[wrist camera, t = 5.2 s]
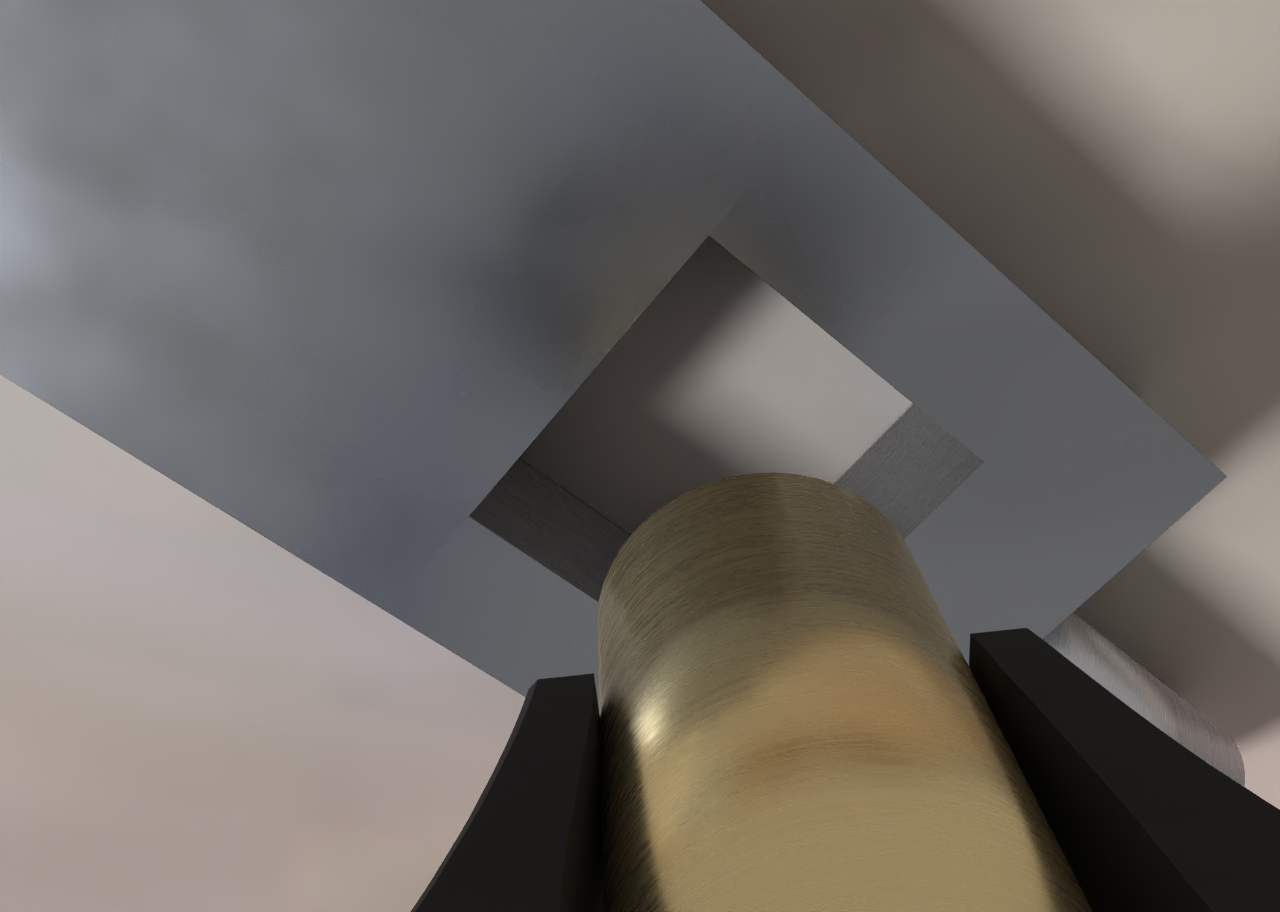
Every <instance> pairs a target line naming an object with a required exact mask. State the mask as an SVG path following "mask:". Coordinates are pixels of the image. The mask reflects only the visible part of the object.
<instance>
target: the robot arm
mask: <svg viewBox="0 0 1280 912" xmlns="http://www.w3.org/2000/svg"><path fill="white" fill-rule="evenodd" d="M969 668H970V670H971V672H972V674H973V676H974V677H975V679H976V681H977V683H978V685H979V687H980V689H981V691H982V693H983V695H984V697H985V699H986V701H987V703H988V705H989V707H990V709H991V711H992V713H993V715H994V717H995V719H996V721H997V723H998V725H999V727H1000V729H1001V731H1002V733H1003V735H1004V737H1005V739H1006V741H1007V742H1008V744H1009V746H1010V748H1011V750H1012V752H1013V754H1014V756H1015V758H1016V760H1017V762H1018V764H1019V766H1020V768H1021V770H1022V772H1023V774H1024V776H1025V778H1026V780H1027V782H1028V784H1029V786H1030V788H1031V790H1032V792H1033V794H1034V796H1035V798H1036V800H1037V802H1038V804H1039V805H1040V807H1041V809H1042V811H1043V813H1044V815H1045V817H1046V819H1047V821H1048V823H1049V825H1050V827H1051V829H1052V831H1053V833H1054V835H1055V837H1056V839H1057V841H1058V843H1059V845H1060V847H1061V849H1062V851H1063V853H1064V855H1065V857H1066V859H1067V861H1068V863H1069V865H1070V867H1071V869H1072V870H1073V872H1074V874H1075V876H1076V878H1077V880H1078V882H1079V884H1080V886H1081V888H1082V890H1083V892H1084V894H1085V896H1086V898H1087V900H1088V902H1089V904H1090V906H1091V908H1092V910H1093V912H1280V810H1279V809H1278V808H1276V807H1274V806H1273V805H1271V804H1270V803H1268V802H1266V801H1265V800H1263V799H1262V798H1260V797H1259V796H1257V795H1256V794H1254V793H1253V792H1251V791H1249V790H1248V789H1246V788H1245V787H1243V786H1242V785H1240V784H1239V783H1237V782H1236V781H1234V780H1233V779H1231V778H1229V777H1228V776H1226V775H1225V774H1223V773H1222V772H1220V771H1219V770H1217V769H1216V768H1214V767H1213V766H1211V765H1210V764H1208V763H1207V762H1205V761H1204V760H1203V759H1201V758H1200V757H1198V756H1197V755H1195V754H1194V753H1192V752H1191V751H1190V750H1188V749H1187V748H1185V747H1184V746H1182V745H1181V744H1180V743H1178V742H1177V741H1175V740H1174V739H1173V738H1171V737H1170V736H1168V735H1167V734H1166V733H1164V732H1163V731H1161V730H1160V729H1159V728H1157V727H1156V726H1155V725H1153V724H1152V723H1151V722H1149V721H1148V720H1146V719H1145V718H1144V717H1142V716H1141V715H1140V714H1138V713H1137V712H1136V711H1134V710H1133V709H1132V708H1130V707H1129V706H1128V705H1126V704H1125V703H1124V702H1122V701H1121V700H1120V699H1118V698H1117V697H1116V696H1115V695H1113V694H1112V693H1111V692H1109V691H1108V690H1107V689H1105V688H1104V687H1103V686H1102V685H1100V684H1099V683H1098V682H1096V681H1095V680H1094V679H1093V678H1091V677H1090V676H1089V675H1087V674H1086V673H1085V672H1084V671H1082V670H1081V669H1080V668H1078V667H1077V666H1076V665H1075V664H1073V663H1072V662H1071V661H1070V660H1068V659H1067V658H1066V657H1064V656H1063V655H1062V654H1061V653H1059V652H1058V651H1057V650H1056V649H1054V648H1053V647H1052V646H1050V645H1049V644H1048V643H1047V642H1045V641H1044V640H1043V639H1041V638H1040V637H1039V636H1037V635H1036V634H1035V633H1033V632H1032V631H1031V630H1029V629H1028V628H1019V629H1010V630H1000V631H991V632H981V633H972V634H970V650H969ZM411 912H603V867H602V818H601V742H600V714H599V707H598V699H597V692H596V685H595V678H594V673H593V674H583V675H574V676H564V677H555V678H545V679H538V680H537V681H536V682H535V683H534V684H533V685H532V686H531V687H530V688H529V689H528V692H527V695H526V698H525V701H524V704H523V707H522V709H521V712H520V714H519V717H518V719H517V722H516V724H515V727H514V729H513V731H512V733H511V736H510V738H509V740H508V742H507V745H506V747H505V749H504V751H503V753H502V755H501V757H500V759H499V762H498V764H497V766H496V768H495V770H494V772H493V774H492V776H491V777H490V779H489V781H488V783H487V785H486V787H485V789H484V791H483V793H482V795H481V796H480V798H479V800H478V802H477V804H476V806H475V808H474V810H473V812H472V814H471V815H470V817H469V819H468V821H467V823H466V824H465V826H464V828H463V830H462V831H461V833H460V835H459V836H458V838H457V839H456V841H455V843H454V844H453V846H452V848H451V849H450V851H449V853H448V854H447V856H446V858H445V859H444V861H443V862H442V864H441V866H440V867H439V869H438V871H437V872H436V874H435V876H434V877H433V879H432V880H431V882H430V884H429V885H428V887H427V888H426V890H425V891H424V893H423V894H422V896H421V897H420V899H419V900H418V902H417V903H416V905H415V906H414V908H413V909H412V911H411Z"/></svg>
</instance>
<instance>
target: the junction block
mask: <svg viewBox="0 0 1280 912" xmlns="http://www.w3.org/2000/svg"><path fill="white" fill-rule="evenodd" d="M708 236H710V237H712V238H713V239H714V240H715V241H716V242H718V243H719V244H720V245H721V246H722V247H724V248H725V249H726V250H727V251H729V252H730V253H731V254H732V255H733V256H735V257H736V258H737V259H738V260H739V261H741V262H742V263H743V264H744V265H746V266H747V267H748V268H749V269H750V270H752V271H753V272H754V273H755V274H757V275H758V276H759V277H760V278H761V279H763V280H764V281H765V282H766V283H767V284H769V285H770V286H771V287H772V288H774V289H775V290H776V291H777V292H778V293H780V294H781V295H782V296H783V297H784V298H786V299H787V300H788V301H789V302H791V303H792V304H793V305H794V306H795V307H797V308H798V309H799V310H800V311H802V312H803V313H804V314H805V315H806V316H808V317H809V318H810V319H811V320H812V321H814V322H815V323H816V324H817V325H819V326H820V327H821V328H822V329H823V330H825V331H826V332H827V333H828V334H830V335H831V336H832V337H833V338H834V339H836V340H837V341H838V342H839V343H840V344H842V345H843V346H844V347H845V348H847V349H848V350H849V351H850V352H851V353H853V354H854V355H855V356H856V357H857V358H859V359H860V360H861V361H862V362H864V363H865V364H866V365H867V366H868V367H870V368H871V369H872V370H873V371H875V372H876V373H877V374H878V375H879V376H881V377H882V378H883V379H884V380H885V381H887V382H888V383H889V384H890V385H892V386H893V387H894V388H895V389H896V390H898V391H899V392H900V393H901V394H902V395H904V396H905V397H906V398H907V399H909V400H910V401H911V402H912V403H913V405H912V406H911V407H910V408H909V409H908V410H907V411H906V412H905V413H904V414H903V415H902V416H901V417H900V418H899V419H898V420H897V421H896V422H895V423H894V424H893V425H892V426H891V427H890V428H889V429H888V430H887V431H886V432H885V433H884V435H883V436H882V437H881V438H880V439H879V440H878V441H877V442H876V443H875V444H874V445H873V446H872V447H871V448H870V449H869V450H868V451H867V452H866V453H865V454H864V455H863V456H862V457H861V458H860V459H859V460H858V461H857V462H856V463H855V464H854V465H853V466H852V467H851V468H850V469H849V470H848V471H847V472H846V473H845V474H844V475H843V476H842V477H841V478H840V479H839V480H838V481H837V482H836V483H835V485H838V486H840V487H842V488H844V489H846V490H848V491H850V492H853V493H855V494H857V495H858V496H860V497H861V498H863V499H864V500H866V501H867V502H869V503H870V504H872V505H873V506H874V507H875V508H876V509H878V510H879V511H880V512H881V513H882V514H883V515H884V516H885V517H887V518H888V520H889V521H890V522H891V523H892V524H893V526H894V527H895V528H896V529H897V530H898V532H899V533H900V534H901V536H902V538H903V539H904V541H905V543H906V544H907V546H908V548H909V549H910V551H911V553H912V555H913V557H914V559H915V561H916V563H917V565H918V567H919V569H920V571H921V573H922V575H923V577H924V579H925V581H926V583H927V585H928V587H929V589H930V591H931V593H932V595H933V597H934V599H935V601H936V603H937V605H938V607H939V609H940V611H941V612H942V614H943V616H944V618H945V620H946V622H947V624H948V626H949V628H950V630H951V632H952V634H953V636H954V638H955V640H956V642H957V644H958V646H959V648H960V650H961V652H962V654H963V656H964V658H965V660H966V662H967V664H968V666H969V650H970V634H972V633H981V632H991V631H1000V630H1010V629H1019V628H1028V629H1029V630H1031V631H1032V632H1033V633H1035V634H1036V635H1037V636H1039V637H1040V638H1041V639H1043V640H1044V641H1045V642H1047V643H1048V644H1049V645H1050V646H1052V647H1053V648H1054V649H1056V650H1057V651H1058V652H1059V653H1061V654H1062V655H1063V656H1064V657H1066V658H1067V659H1068V660H1070V661H1071V662H1072V663H1073V664H1075V665H1076V666H1077V667H1078V668H1080V669H1081V670H1082V671H1084V672H1085V673H1086V674H1087V675H1089V676H1090V677H1091V678H1093V679H1094V680H1095V681H1096V682H1098V683H1099V684H1100V685H1102V686H1103V687H1104V688H1105V689H1107V690H1108V691H1109V692H1111V693H1112V694H1113V695H1115V696H1116V697H1117V698H1118V699H1120V700H1121V701H1122V702H1124V703H1125V704H1126V705H1128V706H1129V707H1130V708H1132V709H1133V710H1134V711H1136V712H1137V713H1138V714H1140V715H1141V716H1142V717H1144V718H1145V719H1146V720H1148V721H1149V722H1151V723H1152V724H1153V725H1155V726H1156V727H1157V728H1159V729H1160V730H1161V731H1163V732H1164V733H1166V734H1167V735H1168V736H1170V737H1171V738H1173V739H1174V740H1175V741H1177V742H1178V743H1180V744H1181V745H1182V746H1184V747H1185V748H1187V749H1188V750H1190V751H1191V752H1192V753H1194V754H1195V755H1197V756H1198V757H1200V758H1201V759H1203V760H1204V761H1205V762H1207V763H1208V764H1210V765H1211V766H1213V767H1214V768H1216V769H1217V770H1219V771H1220V772H1222V773H1223V774H1225V775H1226V776H1228V777H1229V778H1231V779H1233V780H1234V781H1236V782H1237V783H1239V784H1240V785H1242V786H1243V787H1244V784H1245V771H1244V764H1243V760H1242V756H1241V754H1240V752H1239V749H1238V747H1237V746H1236V744H1235V743H1234V741H1233V740H1232V739H1231V738H1230V736H1229V735H1228V734H1227V733H1225V732H1224V731H1223V730H1222V729H1220V728H1219V727H1218V726H1217V725H1215V724H1214V723H1213V722H1212V721H1210V720H1209V719H1208V718H1206V717H1205V716H1204V715H1203V714H1201V713H1200V712H1199V711H1198V710H1196V709H1195V708H1194V707H1193V706H1191V705H1190V704H1189V703H1188V702H1186V701H1185V700H1184V699H1182V698H1181V697H1180V696H1179V695H1177V694H1176V693H1175V692H1174V691H1172V690H1171V689H1170V688H1169V687H1167V686H1166V685H1165V684H1163V683H1162V682H1161V681H1160V680H1158V679H1157V678H1156V677H1155V676H1153V675H1152V674H1151V673H1150V672H1148V671H1147V670H1146V669H1144V668H1143V667H1142V666H1141V665H1139V664H1138V663H1137V662H1136V661H1134V660H1133V659H1132V658H1131V657H1129V656H1128V655H1127V654H1125V653H1124V652H1123V651H1122V650H1120V649H1119V648H1118V647H1117V646H1115V645H1114V644H1113V643H1112V642H1110V641H1109V640H1108V639H1106V638H1105V637H1104V636H1103V635H1101V634H1100V633H1099V632H1098V631H1096V630H1095V629H1094V628H1093V627H1091V626H1090V625H1089V624H1087V623H1086V622H1085V621H1084V620H1082V619H1081V618H1080V617H1079V616H1077V615H1076V614H1075V613H1074V611H1075V610H1076V609H1077V608H1078V607H1079V606H1081V605H1082V604H1083V603H1084V602H1085V601H1086V600H1087V599H1088V598H1090V597H1091V596H1092V595H1093V594H1094V593H1095V592H1096V591H1098V590H1099V589H1100V588H1101V587H1102V586H1103V585H1104V584H1106V583H1107V582H1108V581H1109V580H1110V579H1111V578H1112V577H1113V576H1115V575H1116V574H1117V573H1118V572H1119V571H1120V570H1121V569H1123V568H1124V567H1125V566H1126V565H1127V564H1128V563H1129V562H1131V561H1132V560H1133V559H1134V558H1135V557H1136V556H1137V555H1138V554H1140V553H1141V552H1142V551H1143V550H1144V549H1145V548H1146V547H1148V546H1149V545H1150V544H1151V543H1152V542H1153V541H1154V540H1155V539H1157V538H1158V537H1159V536H1160V535H1161V534H1162V533H1163V532H1165V531H1166V530H1167V529H1168V528H1169V527H1170V526H1171V525H1173V524H1174V523H1175V522H1176V521H1177V520H1178V519H1179V518H1180V517H1182V516H1183V515H1184V514H1185V513H1186V512H1187V511H1188V510H1190V509H1191V508H1192V507H1193V506H1194V505H1195V504H1196V503H1198V502H1199V501H1200V500H1201V499H1202V498H1203V497H1204V496H1205V495H1207V494H1208V493H1209V492H1210V491H1211V490H1212V489H1213V488H1215V487H1216V486H1217V485H1218V484H1219V483H1220V482H1221V481H1223V480H1224V479H1225V478H1226V477H1227V476H1226V475H1225V474H1224V473H1223V472H1221V471H1220V470H1219V469H1218V468H1217V467H1216V466H1215V465H1214V464H1213V463H1211V462H1210V461H1209V460H1208V459H1207V458H1206V457H1205V456H1204V455H1203V454H1202V453H1200V452H1199V451H1198V450H1197V449H1196V448H1195V447H1194V446H1193V445H1192V444H1190V443H1189V442H1188V441H1187V440H1186V439H1185V438H1184V437H1183V436H1182V435H1181V434H1179V433H1178V432H1177V431H1176V430H1175V429H1174V428H1173V427H1172V426H1171V425H1169V424H1168V423H1167V422H1166V421H1165V420H1164V419H1163V418H1162V417H1161V416H1160V415H1158V414H1157V413H1156V412H1155V411H1154V410H1153V409H1152V408H1151V407H1150V406H1148V405H1147V404H1146V403H1145V402H1144V401H1143V400H1142V399H1141V398H1140V397H1139V396H1137V395H1136V394H1135V393H1134V392H1133V391H1132V390H1131V389H1130V388H1129V387H1127V386H1126V385H1125V384H1124V383H1123V382H1122V381H1121V380H1120V379H1119V378H1117V377H1116V376H1115V375H1114V374H1113V373H1112V372H1111V371H1110V370H1109V369H1108V368H1106V367H1105V366H1104V365H1103V364H1102V363H1101V362H1100V361H1099V360H1098V359H1096V358H1095V357H1094V356H1093V355H1092V354H1091V353H1090V352H1089V351H1088V350H1087V349H1085V348H1084V347H1083V346H1082V345H1081V344H1080V343H1079V342H1078V341H1077V340H1075V339H1074V338H1073V337H1072V336H1071V335H1070V334H1069V333H1068V332H1067V331H1066V330H1064V329H1063V328H1062V327H1061V326H1060V325H1059V324H1058V323H1057V322H1056V321H1054V320H1053V319H1052V318H1051V317H1050V316H1049V315H1048V314H1047V313H1046V312H1045V311H1043V310H1042V309H1041V308H1040V307H1039V306H1038V305H1037V304H1036V303H1035V302H1033V301H1032V300H1031V299H1030V298H1029V297H1028V296H1027V295H1026V294H1025V293H1024V292H1022V291H1021V290H1020V289H1019V288H1018V287H1017V286H1016V285H1015V284H1014V283H1012V282H1011V281H1010V280H1009V279H1008V278H1007V277H1006V276H1005V275H1004V274H1003V273H1001V272H1000V271H999V270H998V269H997V268H996V267H995V266H994V265H993V264H991V263H990V262H989V261H988V260H987V259H986V258H985V257H984V256H983V255H981V254H980V253H979V252H978V251H977V250H976V249H975V248H974V247H973V246H972V245H970V244H969V243H968V242H967V241H966V240H965V239H964V238H963V237H962V236H960V235H959V234H958V233H957V232H956V231H955V230H954V229H953V228H952V227H951V226H949V225H948V224H947V223H946V222H945V221H944V220H943V219H942V218H941V217H939V216H938V215H937V214H936V213H935V212H934V211H933V210H932V209H931V208H930V207H928V206H927V205H926V204H925V203H924V202H923V201H922V200H921V199H920V198H918V197H917V196H916V195H915V194H914V193H913V192H912V191H911V190H910V189H909V188H907V187H906V186H905V185H904V184H903V183H902V182H901V181H900V180H899V179H897V178H896V177H895V176H894V175H893V174H892V173H891V172H890V171H889V170H888V169H886V168H885V167H884V166H883V165H882V164H881V163H880V162H879V161H878V160H876V159H875V158H874V157H873V156H872V155H871V154H870V153H869V152H868V151H867V150H865V149H864V148H863V147H862V146H861V145H860V144H859V143H858V142H857V141H855V140H854V139H853V138H852V137H851V136H850V135H849V134H848V133H847V132H845V131H844V130H843V129H842V128H841V127H840V126H839V125H838V124H837V123H836V122H834V121H833V120H832V119H831V118H830V117H829V116H828V115H827V114H826V113H824V112H823V111H822V110H821V109H820V108H819V107H818V106H817V105H816V104H815V103H813V102H812V101H811V100H810V99H809V98H808V97H807V96H806V95H805V94H803V93H802V92H801V91H800V90H799V89H798V88H797V87H796V86H795V85H794V84H792V83H791V82H790V81H789V80H788V79H787V78H786V77H785V76H784V75H782V74H781V73H780V72H779V71H778V70H777V69H776V68H775V67H774V66H773V65H771V64H770V63H769V62H768V61H767V60H766V59H765V58H764V57H763V56H761V55H760V54H759V53H758V52H757V51H756V50H755V49H754V48H753V47H752V46H750V45H749V44H748V43H747V42H746V41H745V40H744V39H743V38H742V37H740V36H739V35H738V34H737V33H736V32H735V31H734V30H733V29H732V28H731V27H729V26H728V25H727V24H726V23H725V22H724V21H723V20H722V19H721V18H719V17H718V16H717V15H716V14H715V13H714V12H713V11H712V10H711V9H709V8H708V7H707V6H706V5H705V4H704V3H703V2H702V1H701V0H0V374H1V375H2V376H4V377H5V378H7V379H9V380H10V381H12V382H14V383H15V384H17V385H18V386H20V387H22V388H23V389H25V390H27V391H28V392H30V393H31V394H33V395H35V396H36V397H38V398H40V399H41V400H43V401H44V402H46V403H48V404H49V405H51V406H53V407H54V408H56V409H57V410H59V411H61V412H62V413H64V414H66V415H67V416H69V417H71V418H72V419H74V420H75V421H77V422H79V423H80V424H82V425H84V426H85V427H87V428H88V429H90V430H92V431H93V432H95V433H97V434H98V435H100V436H101V437H103V438H105V439H106V440H108V441H110V442H111V443H113V444H114V445H116V446H118V447H119V448H121V449H123V450H124V451H126V452H128V453H129V454H131V455H132V456H134V457H136V458H137V459H139V460H141V461H142V462H144V463H145V464H147V465H149V466H150V467H152V468H154V469H155V470H157V471H158V472H160V473H162V474H163V475H165V476H167V477H168V478H170V479H171V480H173V481H175V482H176V483H178V484H180V485H181V486H183V487H184V488H186V489H188V490H189V491H191V492H193V493H194V494H196V495H198V496H199V497H201V498H202V499H204V500H206V501H207V502H209V503H211V504H212V505H214V506H215V507H217V508H219V509H220V510H222V511H224V512H225V513H227V514H228V515H230V516H232V517H233V518H235V519H237V520H238V521H240V522H241V523H243V524H245V525H246V526H248V527H250V528H251V529H253V530H254V531H256V532H258V533H259V534H261V535H263V536H264V537H266V538H268V539H269V540H271V541H272V542H274V543H276V544H277V545H279V546H281V547H282V548H284V549H285V550H287V551H289V552H290V553H292V554H294V555H295V556H297V557H298V558H300V559H302V560H303V561H305V562H307V563H308V564H310V565H311V566H313V567H315V568H316V569H318V570H320V571H321V572H323V573H324V574H326V575H328V576H329V577H331V578H333V579H334V580H336V581H338V582H339V583H341V584H342V585H344V586H346V587H347V588H349V589H351V590H352V591H354V592H355V593H357V594H359V595H360V596H362V597H364V598H365V599H367V600H368V601H370V602H372V603H373V604H375V605H377V606H378V607H380V608H381V609H383V610H385V611H386V612H388V613H390V614H391V615H393V616H395V617H396V618H398V619H399V620H401V621H403V622H404V623H406V624H408V625H409V626H411V627H412V628H414V629H416V630H417V631H419V632H421V633H422V634H424V635H425V636H427V637H429V638H430V639H432V640H434V641H435V642H437V643H438V644H440V645H442V646H443V647H445V648H447V649H448V650H450V651H451V652H453V653H455V654H456V655H458V656H460V657H461V658H463V659H465V660H466V661H468V662H469V663H471V664H473V665H474V666H476V667H478V668H479V669H481V670H482V671H484V672H486V673H487V674H489V675H491V676H492V677H494V678H495V679H497V680H499V681H500V682H502V683H504V684H505V685H507V686H508V687H510V688H512V689H513V690H515V691H517V692H518V693H520V694H521V695H523V696H525V697H526V695H527V692H528V689H529V688H530V687H531V686H532V685H533V684H534V683H535V682H536V681H537V680H538V679H545V678H555V677H564V676H574V675H583V674H593V673H594V678H595V685H596V692H597V699H598V707H599V669H598V620H597V617H598V607H599V598H600V594H601V590H602V587H603V583H604V580H605V577H606V575H607V573H608V570H609V568H610V566H611V563H612V562H613V560H614V558H615V557H616V555H617V553H618V552H619V550H620V548H621V547H622V546H623V544H624V543H625V542H626V541H627V539H628V538H629V537H630V535H629V534H627V533H626V532H624V531H623V530H621V529H620V528H619V527H617V526H616V525H614V524H613V523H611V522H610V521H608V520H607V519H606V518H604V517H603V516H601V515H600V514H598V513H597V512H595V511H594V510H593V509H591V508H590V507H588V506H587V505H585V504H584V503H582V502H581V501H580V500H578V499H577V498H575V497H574V496H572V495H571V494H570V493H568V492H567V491H565V490H564V489H562V488H561V487H559V486H558V485H557V484H555V483H554V482H552V481H551V480H549V479H548V478H546V477H545V476H544V475H542V474H541V473H539V472H538V471H536V470H535V469H533V468H532V467H531V466H529V465H528V464H526V463H525V462H523V461H522V460H521V459H519V457H520V456H521V455H522V453H523V452H524V451H525V450H526V449H527V448H528V446H529V445H530V444H531V443H532V442H533V441H534V439H535V438H536V437H537V436H538V435H539V434H540V432H541V431H542V430H543V429H544V428H545V427H546V425H547V424H548V423H549V422H550V421H551V419H552V418H553V417H554V416H555V415H556V414H557V412H558V411H559V410H560V409H561V408H562V407H563V405H564V404H565V403H566V402H567V401H568V400H569V398H570V397H571V396H572V395H573V394H574V393H575V391H576V390H577V389H578V388H579V387H580V386H581V384H582V383H583V382H584V381H585V380H586V378H587V377H588V376H589V375H590V374H591V373H592V371H593V370H594V369H595V368H596V367H597V366H598V364H599V363H600V362H601V361H602V360H603V359H604V357H605V356H606V355H607V354H608V353H609V352H610V350H611V349H612V348H613V347H614V346H615V345H616V343H617V342H618V341H619V340H620V339H621V338H622V336H623V335H624V334H625V333H626V332H627V330H628V329H629V328H630V327H631V326H632V325H633V323H634V322H635V321H636V320H637V319H638V318H639V316H640V315H641V314H642V313H643V312H644V311H645V309H646V308H647V307H648V306H649V305H650V304H651V302H652V301H653V300H654V299H655V298H656V297H657V295H658V294H659V293H660V292H661V291H662V289H663V288H664V287H665V286H666V285H667V284H668V282H669V281H670V280H671V279H672V278H673V277H674V275H675V274H676V273H677V272H678V271H679V270H680V268H681V267H682V266H683V265H684V264H685V263H686V261H687V260H688V259H689V258H690V257H691V256H692V254H693V253H694V252H695V251H696V250H697V249H698V247H699V246H700V245H701V244H702V243H703V241H704V240H705V239H706V238H707V237H708Z"/></svg>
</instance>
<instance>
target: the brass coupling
mask: <svg viewBox="0 0 1280 912" xmlns="http://www.w3.org/2000/svg"><path fill="white" fill-rule="evenodd" d="M597 620H598V669H599V714H600V742H601V818H602V867H603V912H1093V910H1092V908H1091V906H1090V904H1089V902H1088V900H1087V898H1086V896H1085V894H1084V892H1083V890H1082V888H1081V886H1080V884H1079V882H1078V880H1077V878H1076V876H1075V874H1074V872H1073V870H1072V869H1071V867H1070V865H1069V863H1068V861H1067V859H1066V857H1065V855H1064V853H1063V851H1062V849H1061V847H1060V845H1059V843H1058V841H1057V839H1056V837H1055V835H1054V833H1053V831H1052V829H1051V827H1050V825H1049V823H1048V821H1047V819H1046V817H1045V815H1044V813H1043V811H1042V809H1041V807H1040V805H1039V804H1038V802H1037V800H1036V798H1035V796H1034V794H1033V792H1032V790H1031V788H1030V786H1029V784H1028V782H1027V780H1026V778H1025V776H1024V774H1023V772H1022V770H1021V768H1020V766H1019V764H1018V762H1017V760H1016V758H1015V756H1014V754H1013V752H1012V750H1011V748H1010V746H1009V744H1008V742H1007V741H1006V739H1005V737H1004V735H1003V733H1002V731H1001V729H1000V727H999V725H998V723H997V721H996V719H995V717H994V715H993V713H992V711H991V709H990V707H989V705H988V703H987V701H986V699H985V697H984V695H983V693H982V691H981V689H980V687H979V685H978V683H977V681H976V679H975V677H974V676H973V674H972V672H971V670H970V668H969V666H968V664H967V662H966V660H965V658H964V656H963V654H962V652H961V650H960V648H959V646H958V644H957V642H956V640H955V638H954V636H953V634H952V632H951V630H950V628H949V626H948V624H947V622H946V620H945V618H944V616H943V614H942V612H941V611H940V609H939V607H938V605H937V603H936V601H935V599H934V597H933V595H932V593H931V591H930V589H929V587H928V585H927V583H926V581H925V579H924V577H923V575H922V573H921V571H920V569H919V567H918V565H917V563H916V561H915V559H914V557H913V555H912V553H911V551H910V549H909V548H908V546H907V544H906V543H905V541H904V539H903V538H902V536H901V534H900V533H899V532H898V530H897V529H896V528H895V527H894V526H893V524H892V523H891V522H890V521H889V520H888V518H887V517H885V516H884V515H883V514H882V513H881V512H880V511H879V510H878V509H876V508H875V507H874V506H873V505H872V504H870V503H869V502H867V501H866V500H864V499H863V498H861V497H860V496H858V495H857V494H855V493H853V492H850V491H848V490H846V489H844V488H842V487H840V486H838V485H835V484H832V483H829V482H826V481H823V480H820V479H817V478H811V477H806V476H801V475H796V474H782V473H761V474H748V475H742V476H736V477H730V478H726V479H722V480H719V481H715V482H712V483H708V484H706V485H703V486H701V487H698V488H696V489H694V490H691V491H689V492H686V493H685V494H683V495H681V496H679V497H678V498H676V499H674V500H672V501H670V502H669V503H667V504H666V505H664V506H663V507H662V508H660V509H659V510H657V511H656V512H655V513H653V514H652V515H651V516H649V517H648V518H647V519H646V520H645V521H644V522H643V523H642V524H641V525H640V526H639V527H638V528H637V529H636V530H635V531H634V532H633V533H632V534H631V536H630V537H629V538H628V539H627V541H626V542H625V543H624V544H623V546H622V547H621V548H620V550H619V552H618V553H617V555H616V557H615V558H614V560H613V562H612V563H611V566H610V568H609V570H608V573H607V575H606V577H605V580H604V583H603V587H602V590H601V594H600V598H599V607H598V617H597Z"/></svg>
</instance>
